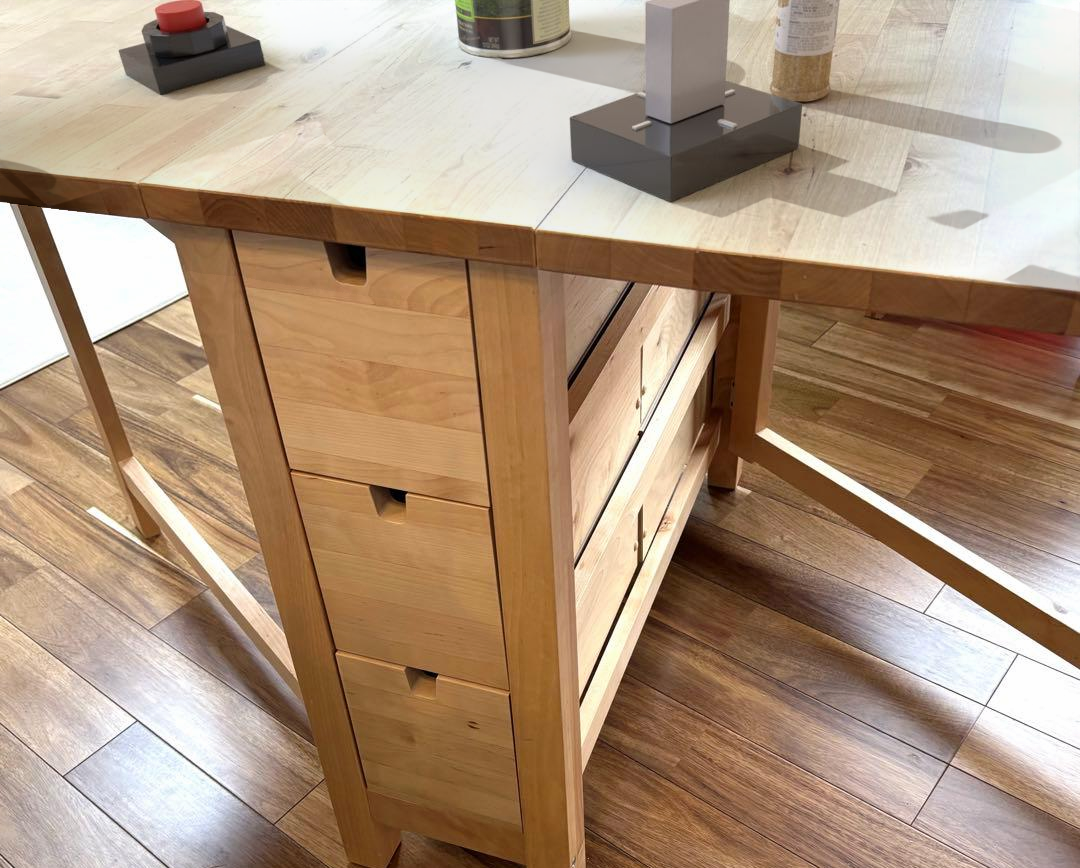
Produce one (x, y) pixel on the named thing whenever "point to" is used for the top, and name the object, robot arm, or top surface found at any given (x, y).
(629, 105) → the dark grey flat block
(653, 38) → the light grey upright block
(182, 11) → the ignition button
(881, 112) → the top surface
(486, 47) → the coffee can
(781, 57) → the sprinkles bottle
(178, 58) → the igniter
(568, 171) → the top surface
